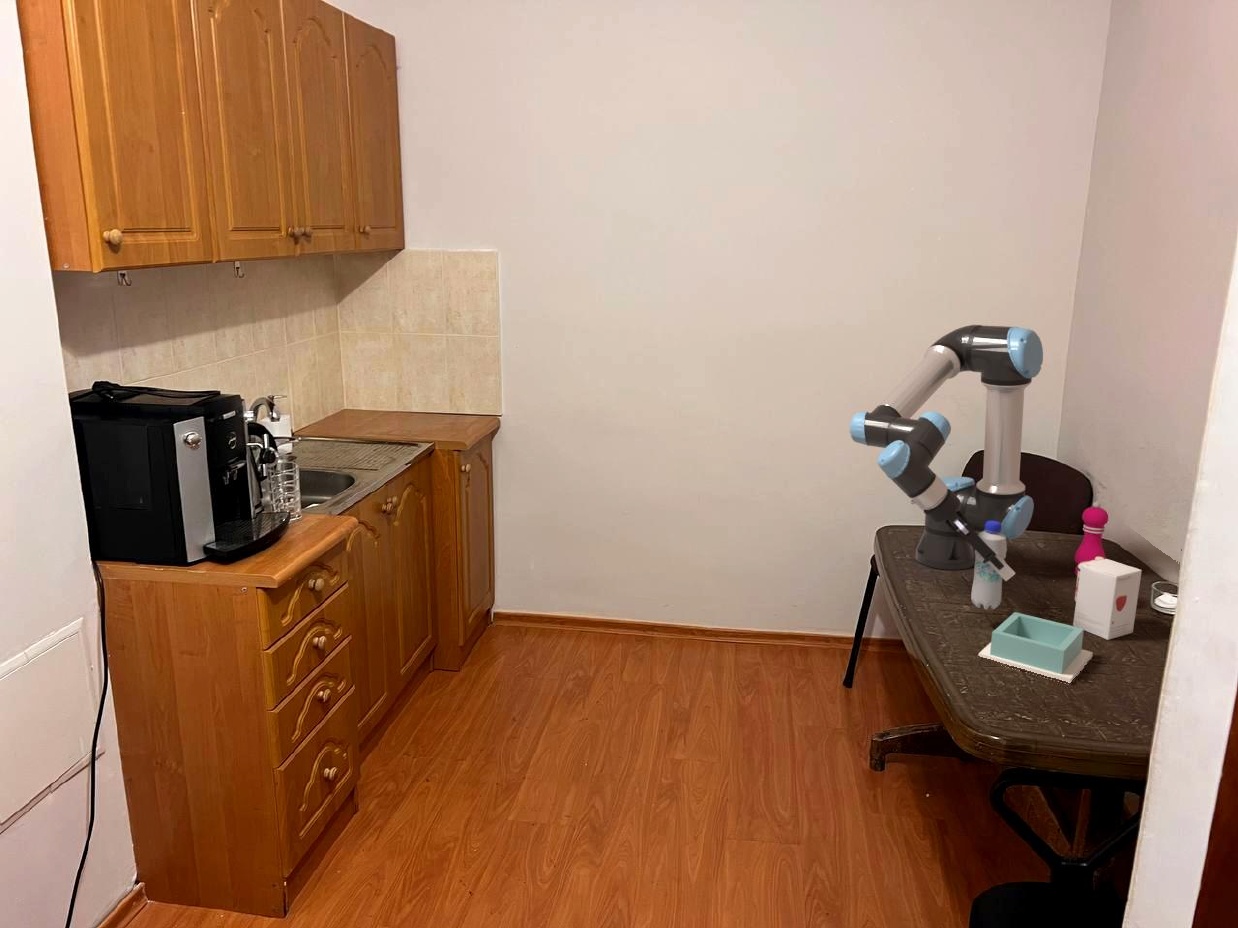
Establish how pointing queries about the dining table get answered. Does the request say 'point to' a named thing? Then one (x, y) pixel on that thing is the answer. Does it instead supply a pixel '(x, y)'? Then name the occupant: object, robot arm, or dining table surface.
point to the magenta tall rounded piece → (1092, 535)
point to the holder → (1038, 647)
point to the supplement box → (1107, 598)
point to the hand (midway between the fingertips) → (1005, 570)
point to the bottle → (988, 569)
